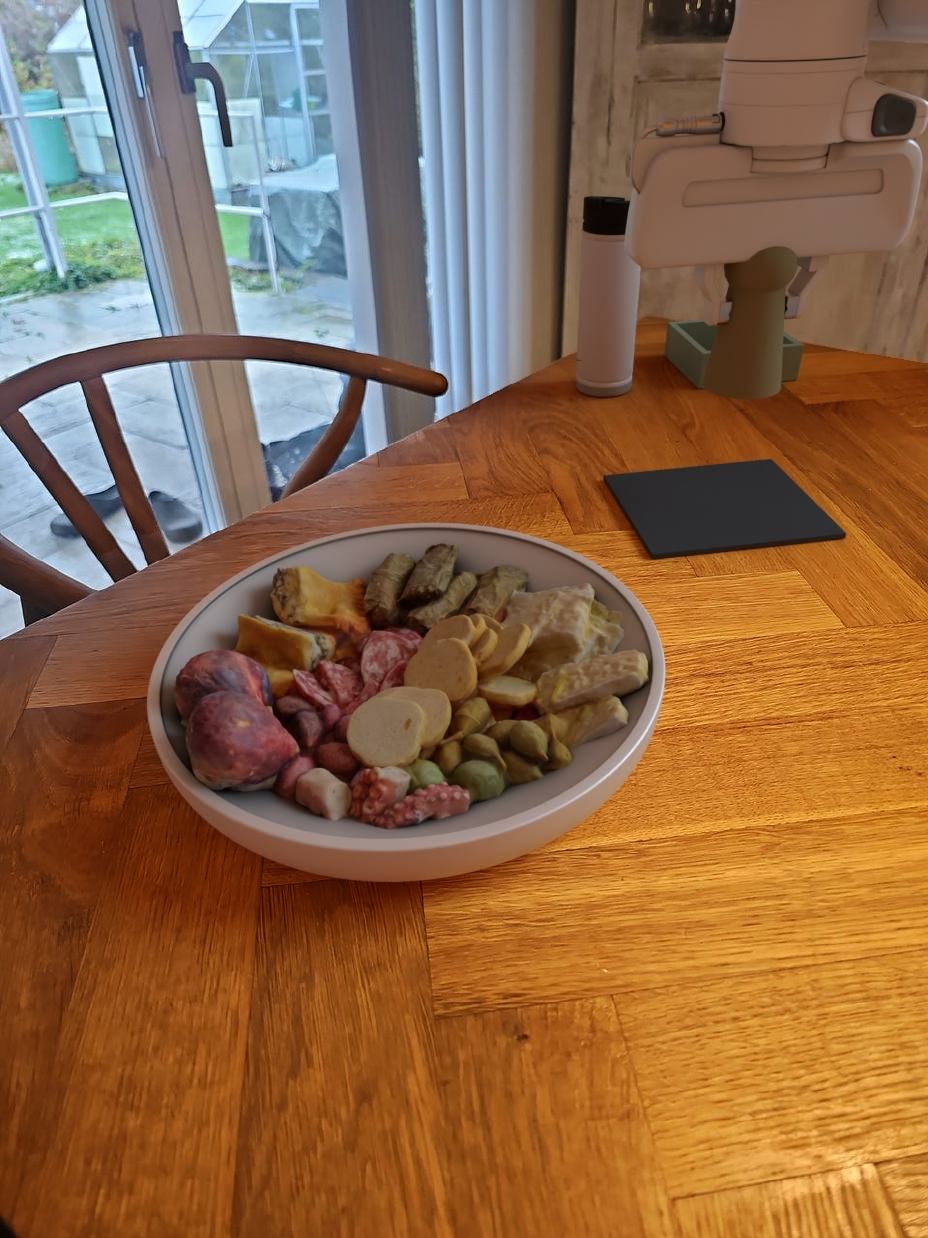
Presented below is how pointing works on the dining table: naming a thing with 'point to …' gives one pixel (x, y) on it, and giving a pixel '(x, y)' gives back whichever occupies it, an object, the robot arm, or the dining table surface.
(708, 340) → the box
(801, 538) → the mat
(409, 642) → the bowl
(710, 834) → the dining table surface
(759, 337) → the brown tapered knobbed piece
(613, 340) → the travel mug
